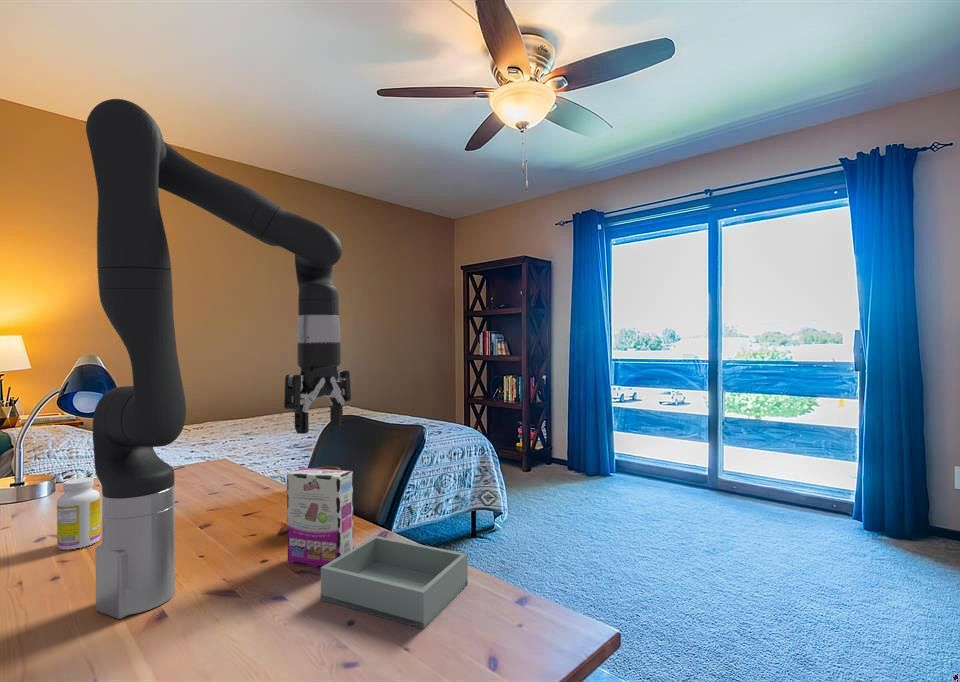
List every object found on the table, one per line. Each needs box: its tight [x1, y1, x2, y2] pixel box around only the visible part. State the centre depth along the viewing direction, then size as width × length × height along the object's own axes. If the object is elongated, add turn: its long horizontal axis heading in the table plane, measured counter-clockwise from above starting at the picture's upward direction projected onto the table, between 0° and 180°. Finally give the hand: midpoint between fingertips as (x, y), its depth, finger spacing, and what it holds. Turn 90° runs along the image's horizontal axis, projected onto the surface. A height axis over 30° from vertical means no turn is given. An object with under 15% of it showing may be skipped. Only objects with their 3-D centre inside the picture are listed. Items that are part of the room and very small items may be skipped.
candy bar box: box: [286, 467, 355, 569], centre depth 88 cm, size 11×5×16 cm, turn 73°
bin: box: [320, 535, 469, 630], centre depth 77 cm, size 14×19×5 cm
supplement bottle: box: [56, 477, 101, 549], centre depth 97 cm, size 7×7×13 cm
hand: (320, 429), depth 89 cm, fingers open, 8 cm apart
